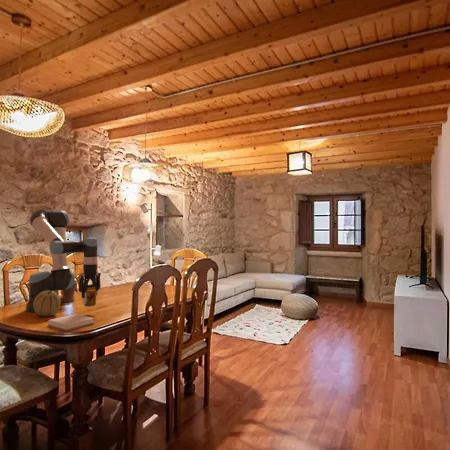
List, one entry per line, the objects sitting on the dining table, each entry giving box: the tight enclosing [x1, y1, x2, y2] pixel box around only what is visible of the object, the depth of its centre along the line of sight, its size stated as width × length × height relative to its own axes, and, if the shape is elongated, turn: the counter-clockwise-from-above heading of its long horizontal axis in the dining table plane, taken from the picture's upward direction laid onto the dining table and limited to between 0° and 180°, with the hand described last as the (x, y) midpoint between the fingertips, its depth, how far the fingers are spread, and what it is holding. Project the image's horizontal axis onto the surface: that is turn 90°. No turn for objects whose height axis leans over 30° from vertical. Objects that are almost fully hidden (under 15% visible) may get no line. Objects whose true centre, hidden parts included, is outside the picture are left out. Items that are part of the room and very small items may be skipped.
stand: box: [47, 313, 95, 332], centre depth 186 cm, size 17×17×3 cm
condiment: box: [79, 283, 99, 308], centre depth 209 cm, size 7×8×12 cm
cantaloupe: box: [33, 291, 62, 317], centre depth 205 cm, size 15×15×15 cm
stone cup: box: [59, 279, 78, 303], centre depth 248 cm, size 15×12×15 cm
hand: (89, 302), depth 209 cm, fingers closed on condiment, 6 cm apart
